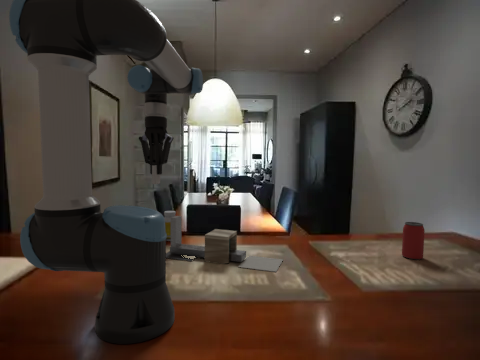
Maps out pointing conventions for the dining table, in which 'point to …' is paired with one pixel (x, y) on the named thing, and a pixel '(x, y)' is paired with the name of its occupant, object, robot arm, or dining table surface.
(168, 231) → the pill bottle
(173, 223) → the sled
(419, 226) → the beer can
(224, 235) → the tunnel
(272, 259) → the mat
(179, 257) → the grey shoe shape
